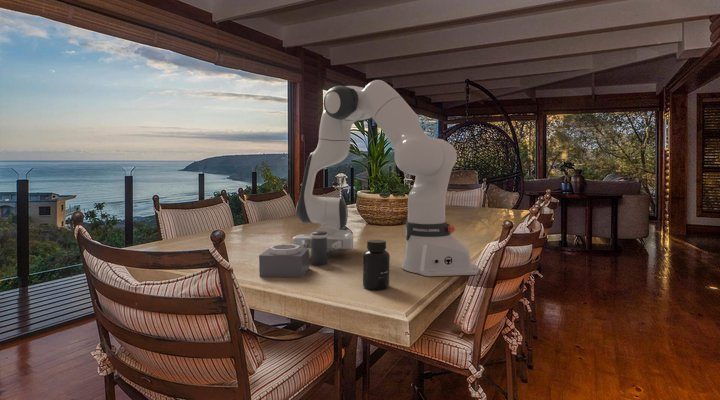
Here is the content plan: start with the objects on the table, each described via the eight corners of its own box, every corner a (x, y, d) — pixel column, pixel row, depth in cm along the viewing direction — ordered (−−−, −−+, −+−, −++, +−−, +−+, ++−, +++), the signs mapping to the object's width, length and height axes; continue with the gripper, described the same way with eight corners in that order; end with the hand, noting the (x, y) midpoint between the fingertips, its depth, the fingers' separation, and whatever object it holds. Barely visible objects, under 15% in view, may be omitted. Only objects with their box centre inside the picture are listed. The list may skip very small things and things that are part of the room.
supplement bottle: (387, 291, 105) (387, 244, 104) (360, 290, 107) (360, 243, 105) (391, 283, 112) (391, 239, 111) (365, 282, 113) (365, 238, 112)
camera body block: (309, 268, 128) (308, 243, 127) (301, 277, 118) (301, 250, 117) (270, 267, 129) (269, 243, 128) (259, 276, 119) (258, 250, 118)
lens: (328, 261, 136) (328, 231, 135) (325, 265, 131) (325, 233, 130) (312, 261, 136) (312, 230, 135) (309, 265, 131) (308, 233, 130)
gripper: (296, 229, 148) (286, 236, 134) (355, 229, 146) (351, 236, 132) (297, 246, 148) (287, 255, 135) (355, 247, 147) (351, 256, 133)
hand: (319, 246), depth 133 cm, fingers open, 8 cm apart
